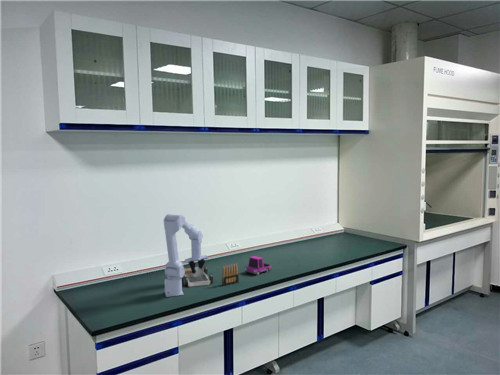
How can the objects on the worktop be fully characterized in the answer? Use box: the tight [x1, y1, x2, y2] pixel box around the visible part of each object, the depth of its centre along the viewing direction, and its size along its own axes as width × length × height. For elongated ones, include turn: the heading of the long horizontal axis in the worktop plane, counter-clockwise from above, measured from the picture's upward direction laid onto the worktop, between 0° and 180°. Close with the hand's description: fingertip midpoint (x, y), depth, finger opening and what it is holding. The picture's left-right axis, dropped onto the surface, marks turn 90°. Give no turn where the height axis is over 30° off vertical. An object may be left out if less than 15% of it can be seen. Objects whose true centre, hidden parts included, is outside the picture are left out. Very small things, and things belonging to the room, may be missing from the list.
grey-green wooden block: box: [193, 266, 203, 278], centre depth 246 cm, size 4×5×5 cm
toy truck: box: [244, 255, 272, 276], centre depth 264 cm, size 11×16×10 cm
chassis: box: [183, 265, 214, 288], centre depth 250 cm, size 17×24×5 cm
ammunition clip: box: [221, 262, 240, 287], centre depth 241 cm, size 11×2×12 cm, turn 125°
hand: (196, 272), depth 246 cm, fingers closed on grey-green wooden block, 4 cm apart
